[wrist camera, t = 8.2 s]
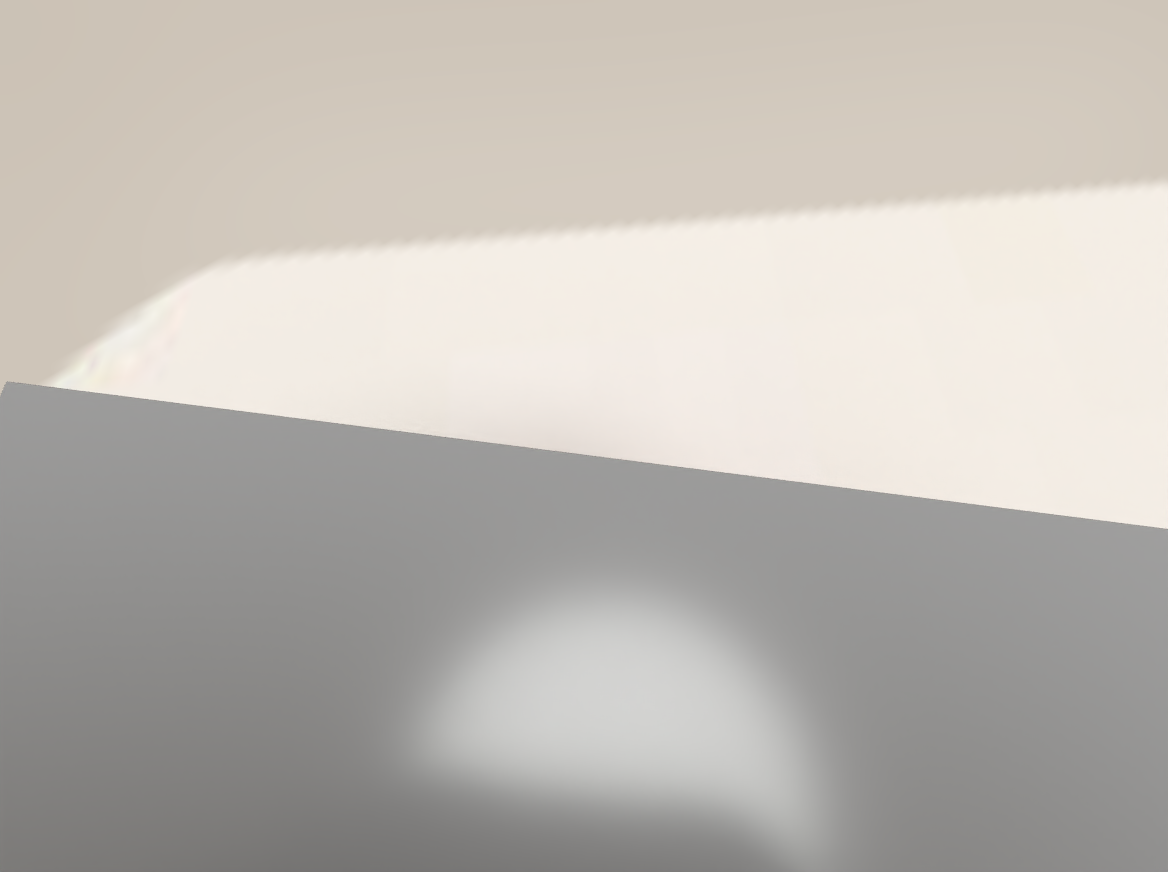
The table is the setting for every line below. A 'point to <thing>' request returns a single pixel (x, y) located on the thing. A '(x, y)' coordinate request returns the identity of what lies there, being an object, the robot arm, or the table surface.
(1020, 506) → the table surface
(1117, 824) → the stone block
